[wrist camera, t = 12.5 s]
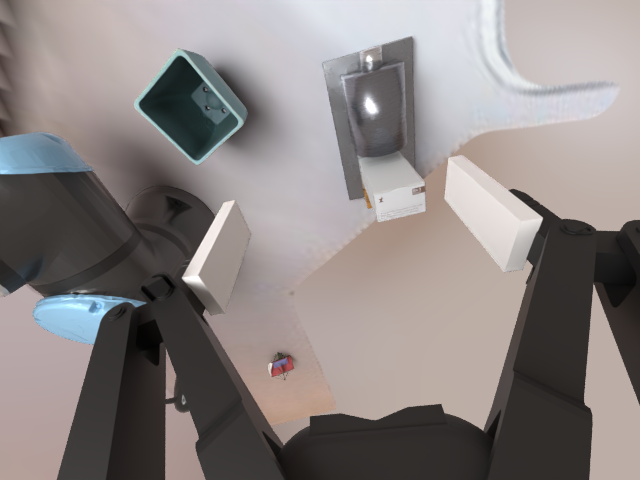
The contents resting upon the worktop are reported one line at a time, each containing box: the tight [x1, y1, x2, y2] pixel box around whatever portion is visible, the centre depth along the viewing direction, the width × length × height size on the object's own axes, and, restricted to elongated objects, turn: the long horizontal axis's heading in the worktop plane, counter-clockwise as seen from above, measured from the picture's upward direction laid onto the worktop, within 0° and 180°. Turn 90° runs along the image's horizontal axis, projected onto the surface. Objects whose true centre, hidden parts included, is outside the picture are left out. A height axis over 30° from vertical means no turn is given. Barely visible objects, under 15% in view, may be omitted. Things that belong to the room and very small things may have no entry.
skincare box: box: [359, 151, 426, 222], centre depth 35 cm, size 6×4×12 cm
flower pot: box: [134, 48, 247, 165], centre depth 32 cm, size 9×9×9 cm
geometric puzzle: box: [268, 353, 294, 379], centre depth 77 cm, size 7×7×8 cm
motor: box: [322, 37, 415, 209], centre depth 35 cm, size 11×20×8 cm, turn 14°
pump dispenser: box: [165, 376, 189, 413], centre depth 73 cm, size 10×10×15 cm
